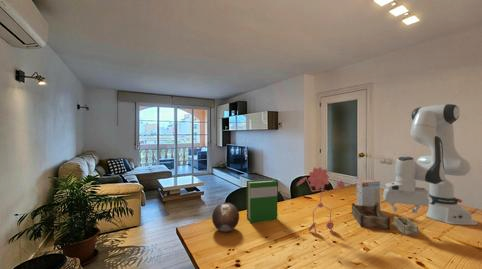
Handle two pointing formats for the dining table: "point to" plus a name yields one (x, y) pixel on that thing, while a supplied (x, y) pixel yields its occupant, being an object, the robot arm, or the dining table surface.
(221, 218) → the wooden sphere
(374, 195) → the cracker box
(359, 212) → the walnut crate
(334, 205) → the dining table surface
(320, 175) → the figurine
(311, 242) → the dining table surface
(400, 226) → the birch crate
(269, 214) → the hardback book
